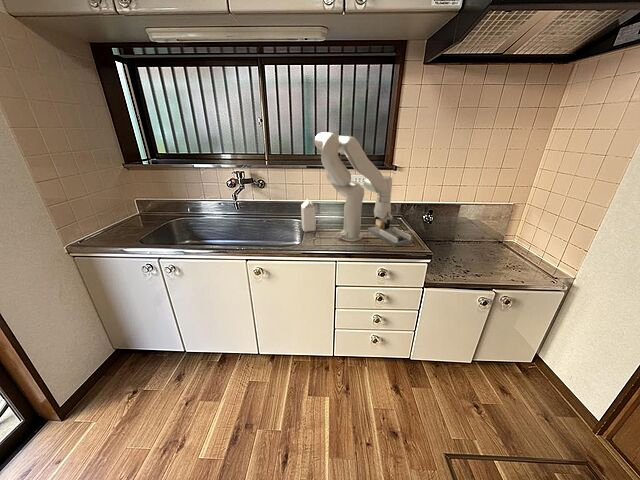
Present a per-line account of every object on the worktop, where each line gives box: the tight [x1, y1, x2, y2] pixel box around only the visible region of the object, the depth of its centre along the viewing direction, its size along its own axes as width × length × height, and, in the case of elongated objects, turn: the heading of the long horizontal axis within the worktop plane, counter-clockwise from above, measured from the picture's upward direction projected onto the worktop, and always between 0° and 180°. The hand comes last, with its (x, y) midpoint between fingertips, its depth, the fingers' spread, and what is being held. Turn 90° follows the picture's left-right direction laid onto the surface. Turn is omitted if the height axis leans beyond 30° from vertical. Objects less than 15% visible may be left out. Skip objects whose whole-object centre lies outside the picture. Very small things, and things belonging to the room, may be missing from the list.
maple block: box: [374, 218, 386, 230], centre depth 154 cm, size 5×5×5 cm
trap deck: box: [367, 226, 413, 248], centre depth 147 cm, size 12×25×4 cm, turn 24°
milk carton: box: [300, 198, 316, 233], centre depth 155 cm, size 7×7×19 cm
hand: (381, 226), depth 153 cm, fingers open, 9 cm apart
